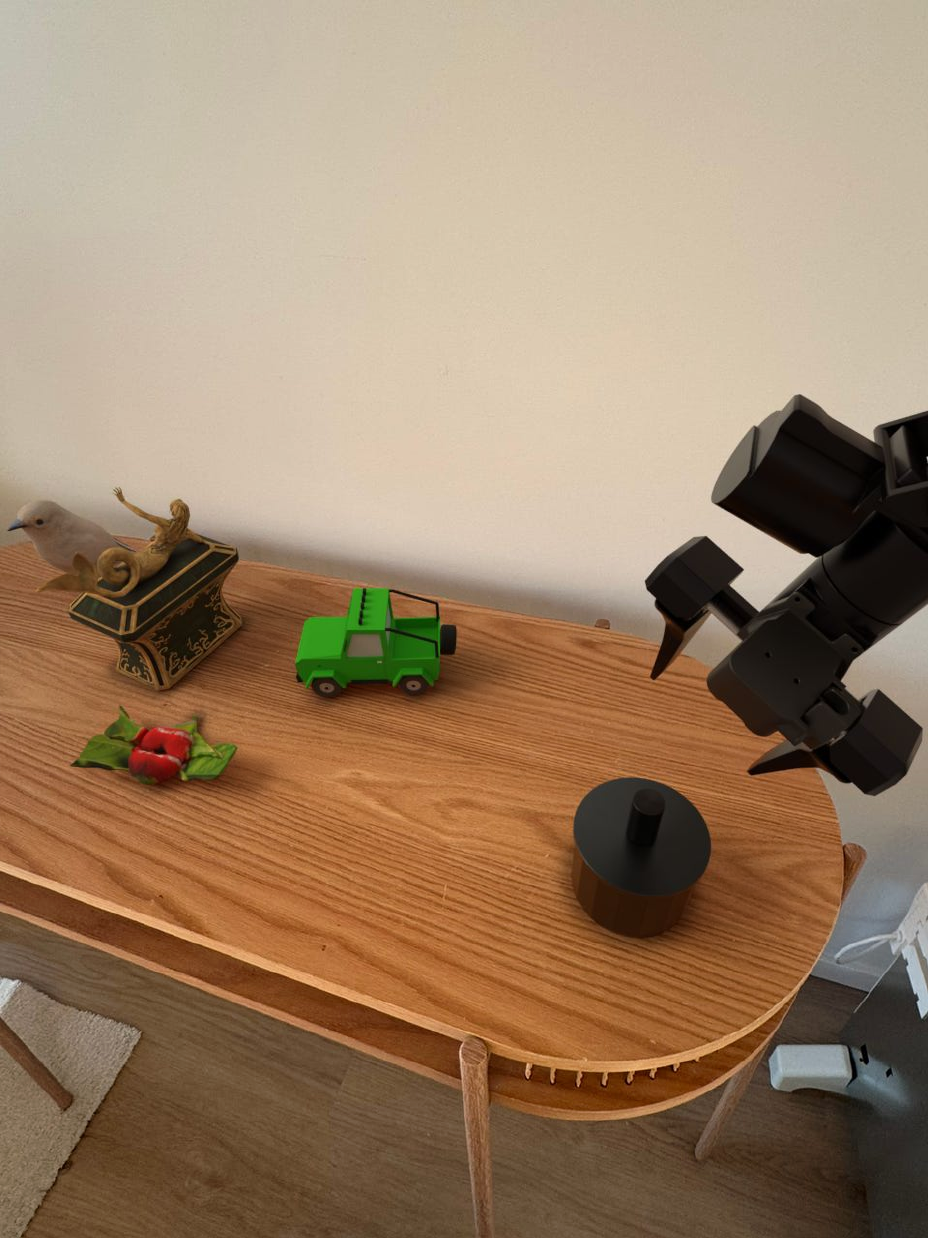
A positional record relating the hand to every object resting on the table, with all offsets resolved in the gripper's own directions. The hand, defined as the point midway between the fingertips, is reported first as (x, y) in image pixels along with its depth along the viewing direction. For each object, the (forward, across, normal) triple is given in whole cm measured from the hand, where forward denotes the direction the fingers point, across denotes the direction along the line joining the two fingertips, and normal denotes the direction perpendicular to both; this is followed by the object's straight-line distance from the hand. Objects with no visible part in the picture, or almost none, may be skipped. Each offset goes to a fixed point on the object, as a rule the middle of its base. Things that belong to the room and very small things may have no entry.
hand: (701, 722), depth 52 cm
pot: (+17, +6, -1) cm, 18 cm away
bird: (+46, -60, -10) cm, 77 cm away
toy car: (+30, -26, +3) cm, 40 cm away
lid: (+11, +3, -2) cm, 11 cm away
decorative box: (+40, -45, -10) cm, 61 cm away
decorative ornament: (+36, -32, -18) cm, 51 cm away
